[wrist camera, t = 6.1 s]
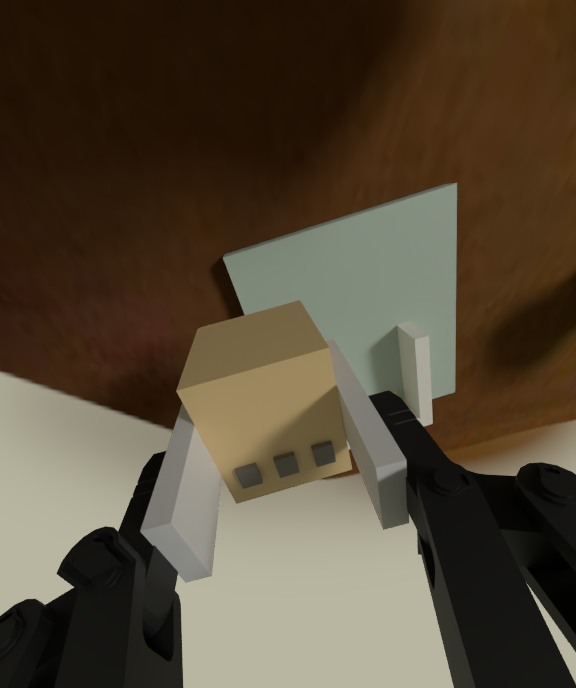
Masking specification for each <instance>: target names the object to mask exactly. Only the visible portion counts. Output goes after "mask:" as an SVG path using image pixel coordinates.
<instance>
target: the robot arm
mask: <svg viewBox="0 0 576 688" xmlns="http://www.w3.org/2000/svg"><path fill="white" fill-rule="evenodd" d="M326 343H327V345H328V346H329V349H330V354H331V359H332V365H333V370H334V375H335V381H336V386H337V391H338V397H339V402H340V407H341V413H342V418H343V423H344V429H345V434H346V439H347V441H348V444H349V446H350V449H351V451H352V454H353V456H354V459H355V461H356V463H357V466H358V468H359V471H360V473H361V476H362V478H363V481H364V483H365V485H366V488H367V490H368V493H369V495H370V498H371V500H372V503H373V505H374V508H375V510H376V513H377V515H378V518H379V520H380V522H381V525H382V527H383V529H387V528H392V527H395V526H399V525H403V524H406V523H409V514H410V516H411V518H412V520H413V522H414V524H415V526H416V528H417V532H418V533H417V534H418V535H417V536H418V554H421V555H422V559H423V563H424V567H425V571H426V575H427V579H428V583H429V587H430V592H431V596H432V599H433V604H434V608H435V612H436V616H437V620H438V624H439V628H440V632H441V636H442V640H443V644H444V649H445V653H446V657H447V660H448V665H449V669H450V673H451V677H452V681H453V685H454V688H576V684H575V682H574V680H573V678H572V676H571V674H570V672H569V670H568V667H567V665H566V663H565V661H564V659H563V657H562V655H561V654H560V651H559V649H558V647H557V645H556V643H555V641H554V639H553V637H552V635H551V633H550V631H549V628H548V626H547V625H546V622H545V620H544V618H543V616H542V614H541V612H540V610H539V608H538V606H537V604H536V602H535V600H534V598H533V596H532V594H531V592H530V589H529V587H530V588H531V589H532V591H533V592H534V594H535V595H536V596H537V598H538V599H539V600H540V602H541V604H542V605H543V606H544V608H545V609H546V611H547V612H548V613H549V615H550V616H551V618H552V619H553V620H554V622H555V623H556V625H557V626H558V628H559V629H560V630H561V632H562V633H563V634H564V636H565V637H566V639H567V640H568V642H569V643H570V644H571V646H572V647H573V649H574V650H575V652H576V474H574V473H573V472H571V471H568V470H566V469H563V468H561V467H559V466H557V465H552V464H546V463H529V464H527V465H525V466H523V467H521V468H520V470H519V472H518V474H517V476H501V475H485V474H477V473H474V472H471V471H467V470H465V469H464V468H463V467H462V466H460V465H458V464H455V463H453V462H452V461H450V460H449V459H448V457H447V456H446V455H445V454H444V453H443V452H442V450H441V449H440V448H439V446H438V445H437V444H436V442H435V441H434V440H433V438H432V437H431V436H430V435H429V433H428V432H427V431H426V429H425V428H424V427H423V425H422V424H421V423H420V422H419V420H417V418H416V416H415V415H414V414H413V412H412V411H410V409H409V407H408V406H407V405H406V403H405V402H404V401H403V399H402V398H401V397H399V396H397V395H396V394H394V393H392V392H391V391H389V390H388V391H384V392H381V393H377V394H373V395H370V396H368V395H367V394H366V392H365V390H364V389H363V387H362V385H361V384H360V382H359V380H358V379H357V377H356V376H355V374H354V372H353V371H352V369H351V367H350V366H349V364H348V362H347V361H346V359H345V357H344V356H343V354H342V352H341V351H340V349H339V347H338V346H337V344H336V342H335V341H334V339H331V340H327V341H326ZM221 477H222V476H221V474H220V472H219V470H218V468H217V466H216V464H215V463H214V461H213V459H212V457H211V455H210V453H209V451H208V449H207V448H206V446H205V444H204V442H203V440H202V438H201V436H200V435H199V433H198V431H197V429H196V427H195V425H194V423H193V421H192V420H191V418H190V416H189V414H188V412H187V410H186V408H185V406H184V405H183V403H182V405H181V408H180V412H179V415H178V418H177V421H176V424H175V427H174V430H173V433H172V436H171V439H170V442H169V445H168V448H167V451H164V452H161V453H157V454H154V455H153V456H152V457H151V459H150V460H149V461H148V462H147V464H146V465H145V466H144V468H143V470H142V473H141V475H140V478H139V480H138V485H137V486H136V488H135V491H134V493H133V497H132V498H131V500H130V503H129V506H128V508H127V511H126V513H125V516H124V518H123V521H122V523H121V526H120V529H119V531H117V530H116V529H115V528H113V527H103V528H99V529H96V530H94V531H92V532H91V533H89V534H88V535H86V536H85V537H83V538H82V539H81V540H80V541H79V542H78V543H77V544H76V545H75V546H74V547H73V548H72V549H71V550H70V551H69V553H68V554H67V555H66V557H65V558H64V559H63V561H62V563H61V565H60V567H59V569H58V572H57V574H58V575H59V576H60V577H62V578H63V579H64V580H66V581H67V582H68V583H70V584H71V585H72V586H74V588H73V589H71V590H69V591H68V592H66V593H64V594H63V595H61V596H59V597H58V598H56V599H55V600H53V601H51V602H49V603H48V604H46V605H44V604H43V603H41V602H40V601H38V600H36V599H26V600H24V601H22V602H20V603H18V604H16V605H14V606H13V607H11V608H10V609H9V610H8V611H6V612H5V613H4V614H2V615H1V616H0V688H183V669H182V634H181V604H180V599H179V595H178V594H177V593H176V592H175V586H176V580H177V575H178V574H179V575H180V577H181V578H182V579H183V580H184V581H185V582H186V583H187V582H190V581H194V580H198V579H201V578H205V577H209V576H211V575H212V567H213V557H214V547H215V537H216V527H217V517H218V507H219V496H220V486H221ZM526 582H527V583H526ZM527 584H528V585H529V587H528V586H527Z"/></svg>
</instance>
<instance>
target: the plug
mask: <svg viewBox="0 0 576 688" xmlns="http://www.w3.org/2000/svg"><path fill="white" fill-rule="evenodd" d="M176 392H177V393H178V395H179V397H180V399H181V401H182V403H183V405H184V406H185V408H186V410H187V412H188V414H189V416H190V418H191V420H192V421H193V423H194V425H195V427H196V429H197V431H198V433H199V435H200V436H201V438H202V440H203V442H204V444H205V446H206V448H207V449H208V451H209V453H210V455H211V457H212V459H213V461H214V463H215V464H216V466H217V468H218V470H219V472H220V474H221V476H222V477H223V479H224V481H225V483H226V485H227V487H228V489H229V491H230V493H231V494H232V496H233V498H234V500H235V502H236V503H240V502H244V501H247V500H250V499H254V498H257V497H261V496H264V495H267V494H271V493H274V492H277V491H281V490H284V489H287V488H291V487H295V486H298V485H301V484H304V483H308V482H311V481H315V480H318V479H322V478H325V477H328V476H332V475H335V474H339V473H342V472H345V471H349V470H352V466H351V461H350V455H349V450H348V445H347V439H346V434H345V429H344V423H343V418H342V413H341V407H340V402H339V397H338V391H337V386H336V381H335V375H334V370H333V365H332V359H331V354H330V349H329V346H328V345H327V343H326V341H325V340H324V338H323V337H322V335H321V333H320V332H319V330H318V328H317V327H316V325H315V324H314V322H313V320H312V319H311V317H310V315H309V314H308V312H307V311H306V309H305V307H304V306H303V304H302V302H301V301H300V300H298V301H294V302H291V303H287V304H284V305H280V306H276V307H273V308H269V309H266V310H262V311H258V312H255V313H251V314H248V315H244V316H240V317H237V318H233V319H230V320H226V321H222V322H219V323H215V324H212V325H208V326H204V327H201V328H198V330H197V333H196V336H195V339H194V341H193V344H192V347H191V350H190V353H189V356H188V359H187V361H186V364H185V367H184V370H183V373H182V376H181V379H180V381H179V384H178V387H177V390H176Z"/></svg>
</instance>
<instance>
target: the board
mask: <svg viewBox="0 0 576 688" xmlns="http://www.w3.org/2000/svg"><path fill="white" fill-rule="evenodd" d="M456 239H457V183H452V184H444V185H440V186H437V187H434V188H431V189H428V190H425V191H422V192H419V193H415V194H412V195H409V196H406V197H403V198H400V199H397V200H393V201H390V202H387V203H384V204H381V205H378V206H375V207H372V208H368V209H365V210H362V211H359V212H356V213H353V214H350V215H346V216H343V217H340V218H337V219H334V220H331V221H328V222H324V223H321V224H318V225H315V226H312V227H309V228H306V229H303V230H299V231H296V232H293V233H290V234H287V235H284V236H281V237H277V238H274V239H271V240H268V241H265V242H262V243H259V244H256V245H252V246H249V247H246V248H243V249H240V250H237V251H234V252H230V253H227V254H224V256H223V260H224V262H225V265H226V268H227V270H228V273H229V275H230V278H231V281H232V283H233V286H234V288H235V291H236V294H237V296H238V299H239V301H240V304H241V307H242V309H243V312H244V314H245V315H248V314H251V313H255V312H258V311H262V310H266V309H269V308H273V307H276V306H280V305H284V304H287V303H291V302H294V301H298V300H300V301H301V302H302V304H303V306H304V307H305V309H306V311H307V312H308V314H309V315H310V317H311V319H312V320H313V322H314V324H315V325H316V327H317V328H318V330H319V332H320V333H321V335H322V337H323V338H324V340H325V341H327V340H331V339H334V341H335V342H336V344H337V346H338V347H339V349H340V351H341V352H342V354H343V356H344V357H345V359H346V361H347V362H348V364H349V366H350V367H351V369H352V371H353V372H354V374H355V376H356V377H357V379H358V380H359V382H360V384H361V385H362V387H363V389H364V390H365V392H366V394H367V395H368V396H370V395H373V394H377V393H381V392H384V391H388V390H389V391H391V392H392V393H394V394H396V395H397V396H399V397H401V398H402V399H403V401H404V402H405V403H406V405H407V406H408V407H409V409H410V411H412V412H413V414H414V415H415V416H416V418H417V420H419V422H420V423H421V424H422V425H423V427H424V426H427V425H430V424H433V418H432V399H434V398H437V397H441V396H444V395H447V394H450V393H453V392H455V343H456ZM347 445H348V450H349V449H350V446H349V444H348V441H347Z"/></svg>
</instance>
